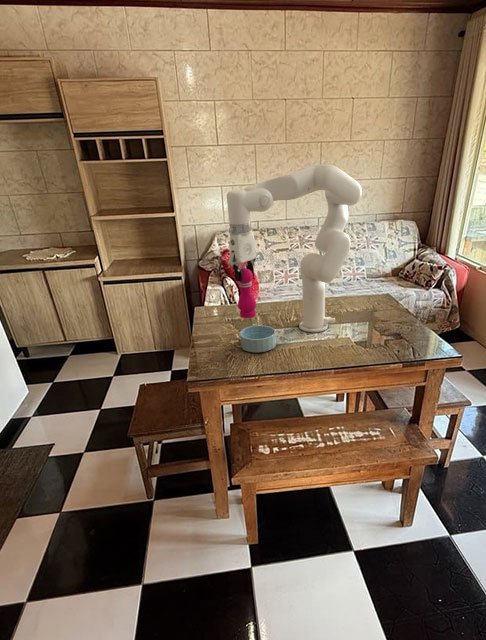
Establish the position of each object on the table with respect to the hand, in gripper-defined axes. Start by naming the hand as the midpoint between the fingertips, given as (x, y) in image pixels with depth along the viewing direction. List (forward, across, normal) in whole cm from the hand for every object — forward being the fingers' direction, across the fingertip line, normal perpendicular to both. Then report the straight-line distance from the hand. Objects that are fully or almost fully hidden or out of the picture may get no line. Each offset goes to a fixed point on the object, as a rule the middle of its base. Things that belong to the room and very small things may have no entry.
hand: (244, 278), depth 153 cm
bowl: (+27, 0, -4) cm, 28 cm away
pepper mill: (+15, 0, 0) cm, 15 cm away
